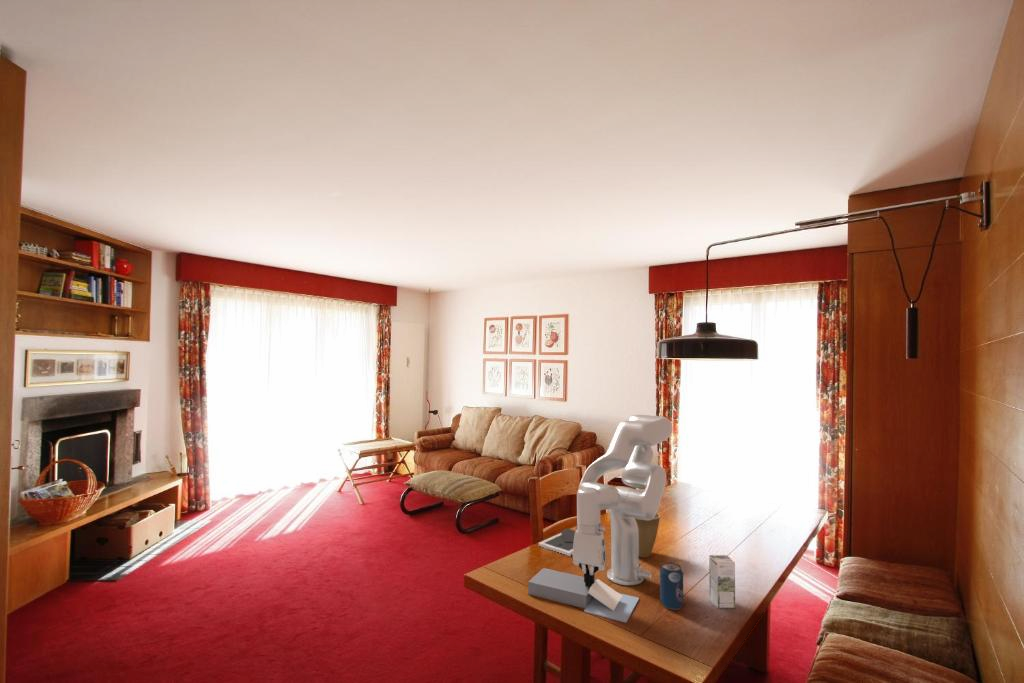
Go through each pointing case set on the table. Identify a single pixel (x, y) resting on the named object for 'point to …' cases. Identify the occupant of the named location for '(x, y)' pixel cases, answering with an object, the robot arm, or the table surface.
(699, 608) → the table surface
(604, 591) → the white flat block
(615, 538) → the robot arm
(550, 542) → the picture frame
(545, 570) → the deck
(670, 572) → the soda can
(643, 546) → the plant pot
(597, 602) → the mat
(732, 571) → the syrup box
